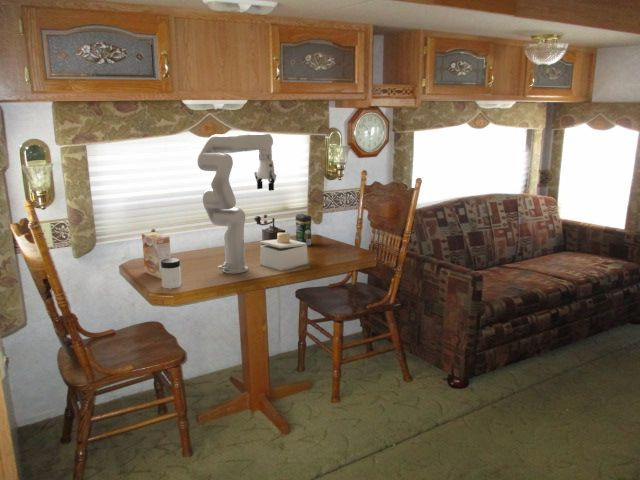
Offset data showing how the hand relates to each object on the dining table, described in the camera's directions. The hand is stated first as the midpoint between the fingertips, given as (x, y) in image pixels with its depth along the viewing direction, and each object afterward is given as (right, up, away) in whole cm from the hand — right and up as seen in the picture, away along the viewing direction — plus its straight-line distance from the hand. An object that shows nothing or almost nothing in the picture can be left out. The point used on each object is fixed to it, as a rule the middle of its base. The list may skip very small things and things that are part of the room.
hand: (265, 189), depth 288 cm
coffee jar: (+19, -30, +31) cm, 47 cm away
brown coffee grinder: (0, -31, +30) cm, 43 cm away
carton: (+11, -40, -10) cm, 42 cm away
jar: (-38, -48, -44) cm, 76 cm away
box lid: (+11, -29, -13) cm, 34 cm away
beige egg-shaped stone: (+10, -28, -13) cm, 33 cm away
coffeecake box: (-50, -44, -26) cm, 71 cm away
